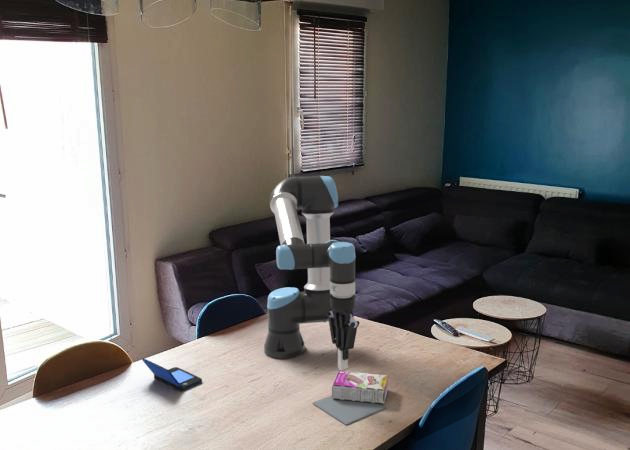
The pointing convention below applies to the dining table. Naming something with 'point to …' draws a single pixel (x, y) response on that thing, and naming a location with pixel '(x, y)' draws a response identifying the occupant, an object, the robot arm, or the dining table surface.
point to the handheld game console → (173, 376)
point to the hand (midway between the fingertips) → (342, 368)
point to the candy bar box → (360, 387)
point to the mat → (348, 409)
